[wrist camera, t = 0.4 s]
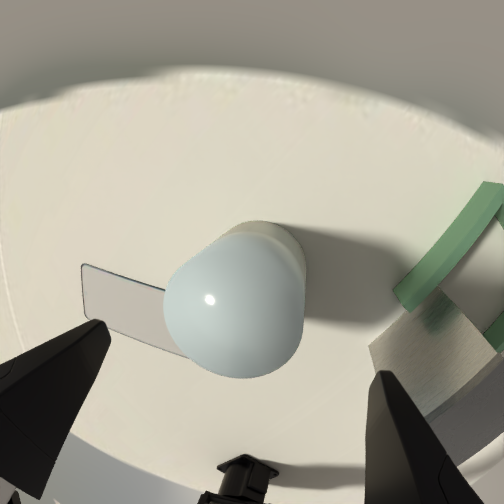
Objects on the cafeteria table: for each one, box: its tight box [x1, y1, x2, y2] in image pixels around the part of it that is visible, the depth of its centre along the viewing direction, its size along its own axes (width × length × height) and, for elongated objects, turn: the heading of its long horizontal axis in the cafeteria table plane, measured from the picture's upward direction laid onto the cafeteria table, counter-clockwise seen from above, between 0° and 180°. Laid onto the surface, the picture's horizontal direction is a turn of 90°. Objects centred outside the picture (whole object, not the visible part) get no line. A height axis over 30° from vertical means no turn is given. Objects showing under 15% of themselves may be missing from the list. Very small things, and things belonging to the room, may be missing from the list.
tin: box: [368, 286, 504, 467], centre depth 17 cm, size 8×8×12 cm
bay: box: [393, 181, 504, 353], centre depth 18 cm, size 12×13×3 cm
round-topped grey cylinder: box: [163, 221, 306, 378], centre depth 19 cm, size 8×8×9 cm
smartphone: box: [81, 264, 189, 359], centre depth 27 cm, size 7×1×15 cm
